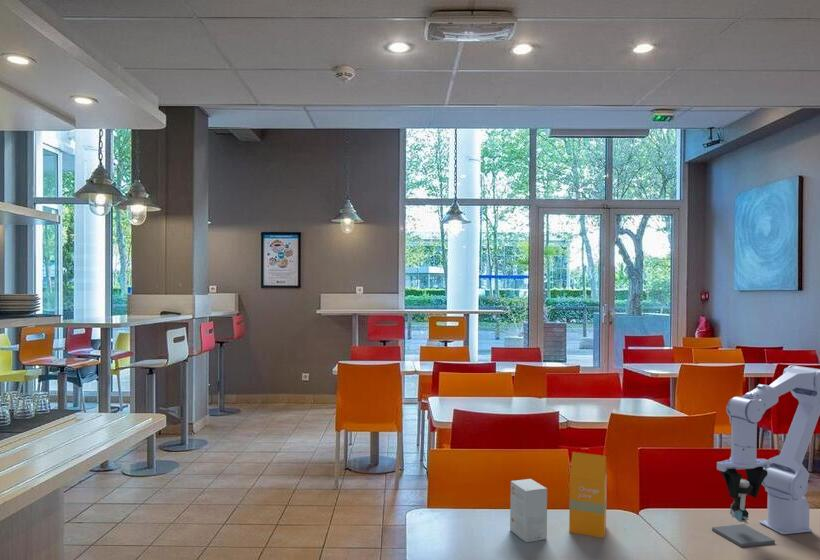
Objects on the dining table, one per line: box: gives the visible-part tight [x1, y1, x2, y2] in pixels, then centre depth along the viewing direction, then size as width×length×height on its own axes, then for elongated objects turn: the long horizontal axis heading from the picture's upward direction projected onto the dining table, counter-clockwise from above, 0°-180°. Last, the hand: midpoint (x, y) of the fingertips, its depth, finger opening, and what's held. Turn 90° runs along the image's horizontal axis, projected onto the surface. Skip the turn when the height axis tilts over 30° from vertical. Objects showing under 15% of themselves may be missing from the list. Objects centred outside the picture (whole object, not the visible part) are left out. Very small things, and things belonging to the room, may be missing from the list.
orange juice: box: [568, 451, 608, 538], centre depth 158 cm, size 8×9×20 cm
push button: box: [729, 478, 753, 525], centre depth 155 cm, size 7×5×10 cm
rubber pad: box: [711, 523, 776, 548], centre depth 154 cm, size 10×10×1 cm
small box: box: [509, 478, 548, 543], centre depth 154 cm, size 8×6×13 cm
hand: (743, 496), depth 154 cm, fingers closed on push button, 5 cm apart
